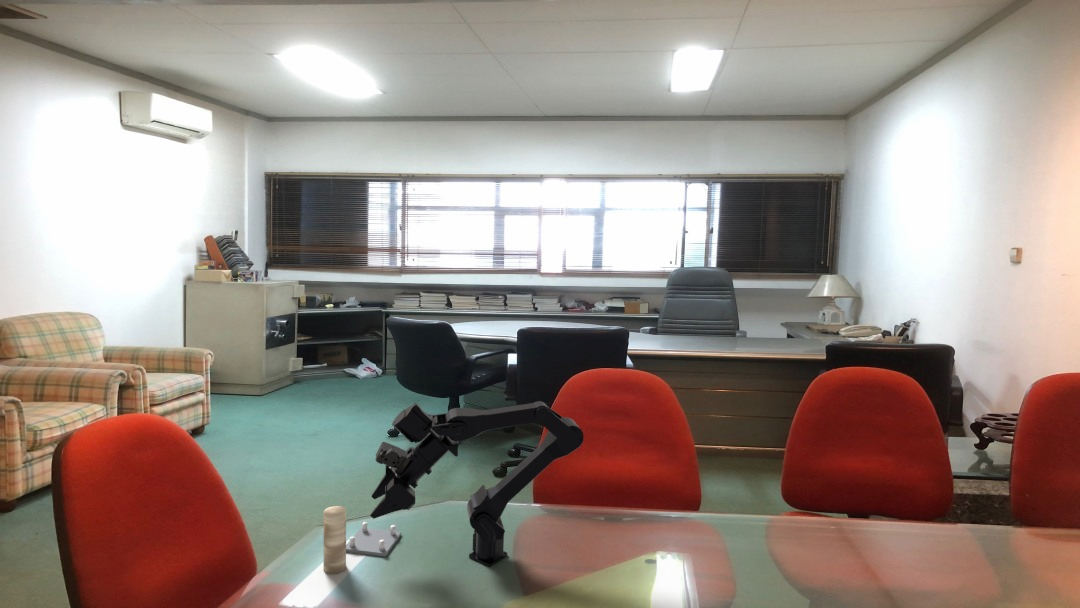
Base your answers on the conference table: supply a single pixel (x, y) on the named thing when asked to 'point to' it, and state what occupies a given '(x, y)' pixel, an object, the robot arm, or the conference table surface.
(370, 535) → the peg plate
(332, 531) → the birch post
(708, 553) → the conference table surface
